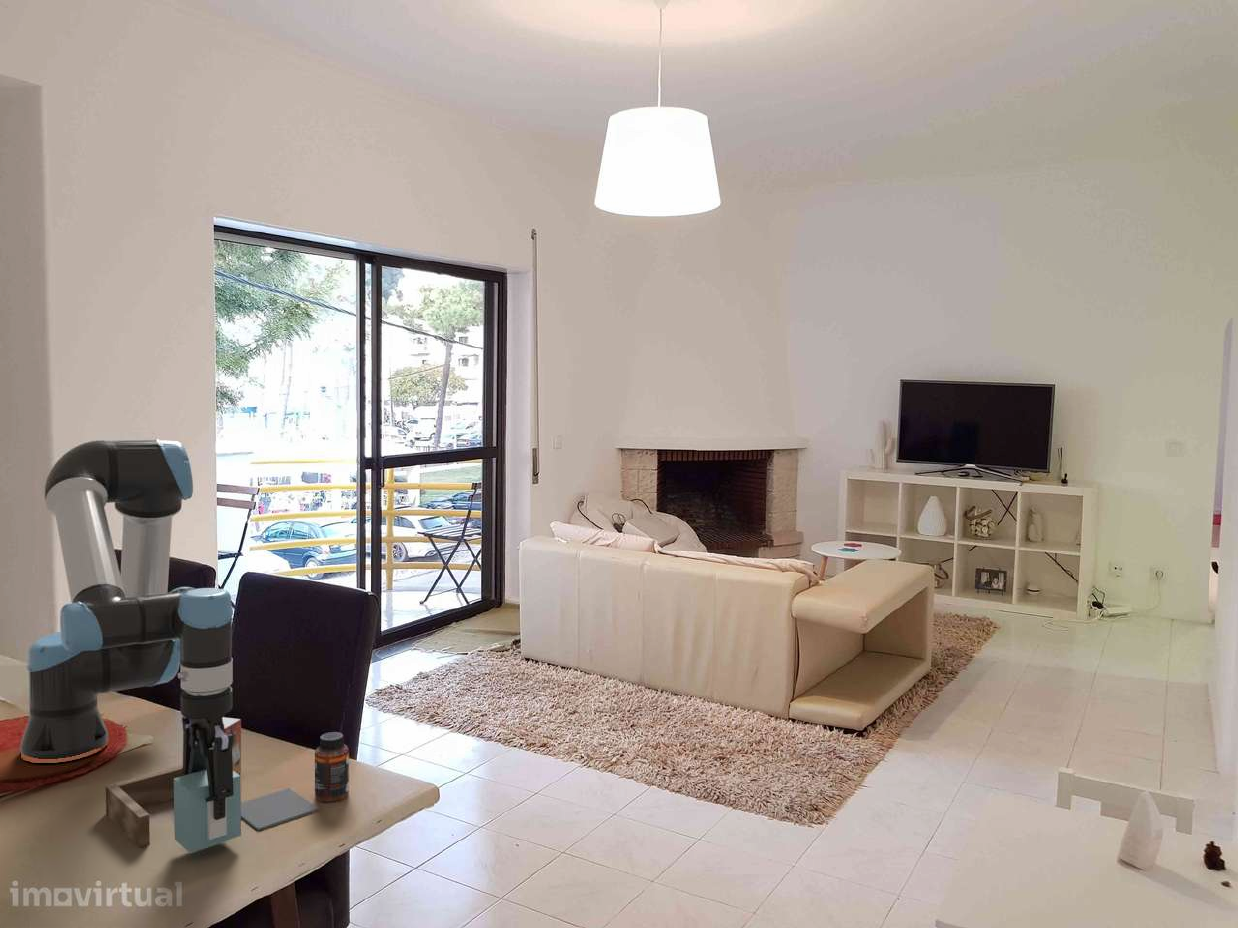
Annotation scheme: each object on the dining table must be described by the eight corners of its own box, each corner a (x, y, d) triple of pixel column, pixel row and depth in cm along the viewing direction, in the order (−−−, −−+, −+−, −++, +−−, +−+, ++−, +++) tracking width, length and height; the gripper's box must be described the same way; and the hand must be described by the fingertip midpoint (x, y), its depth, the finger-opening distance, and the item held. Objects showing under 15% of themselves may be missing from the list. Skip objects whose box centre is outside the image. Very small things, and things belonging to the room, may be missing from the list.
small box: (216, 789, 171) (215, 733, 170) (189, 785, 172) (188, 730, 171) (242, 771, 179) (242, 718, 178) (216, 768, 180) (215, 715, 179)
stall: (106, 813, 160) (105, 785, 160) (195, 788, 171) (194, 761, 171) (139, 846, 150) (139, 816, 149) (232, 817, 160) (232, 789, 160)
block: (174, 839, 148) (173, 778, 147) (224, 822, 154) (224, 764, 153) (190, 852, 144) (189, 790, 143) (241, 835, 150) (240, 775, 149)
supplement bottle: (356, 793, 171) (356, 733, 170) (333, 806, 166) (333, 744, 165) (330, 786, 174) (330, 727, 172) (307, 798, 168) (307, 738, 167)
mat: (229, 808, 163) (229, 806, 163) (288, 789, 171) (288, 787, 171) (258, 830, 156) (258, 828, 156) (318, 810, 164) (318, 807, 164)
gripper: (158, 678, 151) (160, 816, 153) (208, 709, 138) (209, 859, 140) (205, 669, 156) (206, 802, 158) (257, 697, 143) (258, 842, 145)
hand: (208, 828), depth 149 cm, fingers closed on block, 6 cm apart
